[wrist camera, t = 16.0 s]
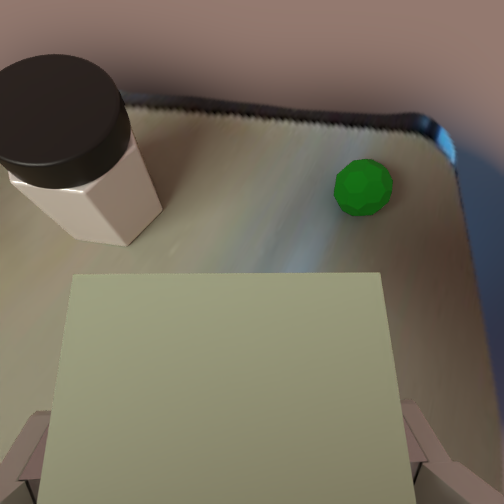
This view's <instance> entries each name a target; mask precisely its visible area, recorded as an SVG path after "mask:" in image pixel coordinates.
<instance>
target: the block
mask: <svg viewBox="0 0 504 504" xmlns="http://www.w3.org/2000/svg"><path fill="white" fill-rule="evenodd" d="M37 504H416V498H415V492H414V485H413V479H412V473H411V466H410V460H409V453H408V447H407V441H406V434H405V428H404V422H403V415H402V409H401V403H400V396H399V390H398V384H397V377H396V371H395V365H394V358H393V352H392V346H391V339H390V333H389V326H388V320H387V314H386V307H385V301H384V295H383V288H382V282H381V276H380V273H200V274H73V279H72V285H71V291H70V297H69V304H68V310H67V316H66V323H65V329H64V335H63V341H62V348H61V354H60V360H59V367H58V373H57V379H56V385H55V392H54V398H53V404H52V411H51V417H50V423H49V429H48V436H47V442H46V448H45V455H44V461H43V467H42V473H41V480H40V486H39V492H38V499H37Z"/></svg>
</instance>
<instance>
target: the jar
mask: <svg viewBox="0 0 504 504" xmlns="http://www.w3.org/2000/svg"><path fill="white" fill-rule="evenodd" d="M124 105H125V103H124V101H123V99H122V97H121V94H120V92H119V90H118V89H117V86H116V85H115V83H114V81H113V80H112V79H111V77H110V76H109V75H108V74H107V73H106V72H105V71H104V70H103V69H102V68H100V67H99V66H97V65H95V64H94V63H92V62H90V61H88V60H85V59H82V58H79V57H75V56H70V55H63V54H62V55H61V54H48V55H40V56H35V57H30V58H27V59H24V60H21V61H18V62H16V63H14V64H12V65H10V66H8V67H6V68H4V69H3V70H1V71H0V163H1V164H2V165H3V166H4V167H5V168H6V169H7V170H8V174H9V179H10V182H11V184H12V185H14V186H15V187H16V188H17V189H18V190H19V191H20V192H22V193H23V194H24V195H25V196H26V197H27V198H28V199H30V200H31V201H32V202H33V203H34V204H35V205H36V206H38V207H39V208H40V209H41V210H42V211H43V212H44V213H46V214H47V215H48V216H49V217H50V218H51V219H52V220H54V221H55V222H56V223H57V224H58V225H59V226H60V227H62V228H63V229H64V230H65V231H66V232H67V233H68V234H70V235H71V236H72V237H73V238H74V239H77V240H84V241H91V242H97V243H104V244H111V245H118V246H128V245H129V244H130V243H131V242H132V241H133V240H134V239H135V238H136V237H137V236H138V235H139V234H140V233H141V232H142V231H143V230H144V229H145V228H146V227H147V226H148V225H149V224H150V223H151V222H152V221H153V220H154V219H155V218H156V217H157V216H158V215H159V214H160V213H161V212H162V206H161V203H160V200H159V197H158V195H157V192H156V189H155V186H154V184H153V181H152V178H151V175H150V173H149V170H148V167H147V165H146V162H145V160H144V157H143V155H142V152H141V150H140V147H139V145H138V142H137V140H136V137H135V135H134V132H133V130H132V127H131V125H130V120H129V117H128V114H127V112H126V109H125V106H124Z"/></svg>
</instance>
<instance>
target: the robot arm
mask: <svg viewBox="0 0 504 504" xmlns="http://www.w3.org/2000/svg"><path fill="white" fill-rule="evenodd" d="M400 403H401V409H402V415H403V422H404V428H405V434H406V441H407V447H408V453H409V460H410V466H411V473H412V479H413V485H414V492H415V498H416V504H504V496H503V495H502V494H501V493H499V492H498V491H497V490H495V489H494V488H493V487H492V486H490V485H489V484H488V483H486V482H485V481H484V480H482V479H481V478H480V477H478V476H477V475H476V474H474V473H473V472H472V471H470V470H469V469H468V468H466V467H465V466H464V465H463V464H461V463H460V462H459V461H451V459H450V457H449V456H448V454H447V452H446V451H445V449H444V448H443V446H442V444H441V443H440V441H439V439H438V438H437V436H436V435H435V433H434V431H433V430H432V428H431V426H430V425H429V423H428V422H427V420H426V418H425V417H424V415H423V413H422V412H421V410H420V409H419V407H418V405H417V404H416V402H414V401H413V400H412V399H401V400H400ZM51 411H52V410H51ZM51 411H36V412H35V413H34V414H33V415H31V416H30V417H29V419H28V421H27V422H26V424H25V425H24V427H23V429H22V430H21V432H20V434H19V435H18V437H17V438H16V440H15V442H14V443H13V445H12V447H11V448H10V450H9V451H8V453H7V455H6V456H5V458H4V460H3V461H2V463H1V464H0V504H37V499H38V492H39V486H40V480H41V473H42V467H43V461H44V455H45V448H46V442H47V436H48V429H49V423H50V417H51Z"/></svg>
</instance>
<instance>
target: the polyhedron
mask: <svg viewBox="0 0 504 504" xmlns="http://www.w3.org/2000/svg"><path fill="white" fill-rule="evenodd" d="M392 184H393V180H392V178H391V176H390V174H389V172H388V170H387V169H386V168H385V167H384V166H383V165H382V164H380V163H378V162H376V161H374V160H371V159H362V160H354V161H352V162H351V163H350V164H349V165H347V166H346V167H345V168H344V169H343V170H342V171H341V172H339V173H338V174H337V177H336V183H335V189H334V197H335V199H336V200H337V202H338V204H339V206H340V207H341V209H342V211H344V212H346V213H348V214H350V215H352V216H365V215H373V214H374V213H376V212H377V211H378V210H380V209H381V208H382V207H383V206H384V205H386V204H387V203H388V202H389V199H390V196H391V192H392Z"/></svg>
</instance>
